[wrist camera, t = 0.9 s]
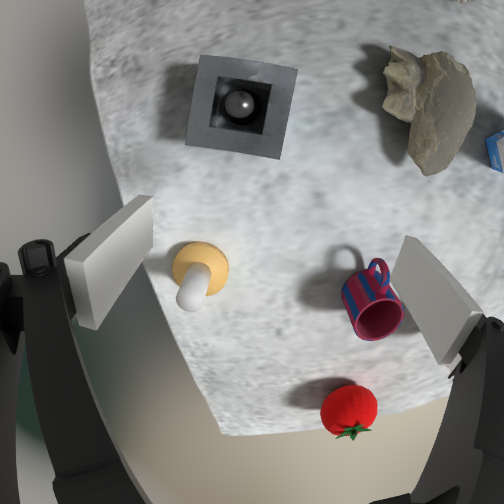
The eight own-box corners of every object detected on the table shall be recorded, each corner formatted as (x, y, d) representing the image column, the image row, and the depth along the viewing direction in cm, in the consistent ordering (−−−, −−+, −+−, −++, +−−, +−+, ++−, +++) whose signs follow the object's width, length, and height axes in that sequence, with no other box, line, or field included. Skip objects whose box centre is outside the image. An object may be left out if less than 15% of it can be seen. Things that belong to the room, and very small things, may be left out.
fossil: (420, 76, 28) (370, 43, 24) (486, 73, 19) (445, 27, 15) (413, 175, 32) (361, 159, 28) (482, 190, 23) (444, 171, 19)
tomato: (374, 394, 49) (386, 435, 40) (325, 412, 51) (332, 452, 42) (366, 366, 45) (380, 411, 36) (310, 386, 47) (316, 432, 38)
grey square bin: (209, 64, 26) (200, 54, 22) (291, 76, 27) (297, 69, 22) (195, 140, 30) (185, 144, 26) (276, 153, 31) (279, 159, 26)
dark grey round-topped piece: (227, 87, 28) (220, 79, 22) (264, 93, 28) (266, 86, 22) (221, 122, 29) (212, 122, 24) (258, 127, 30) (257, 129, 24)
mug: (336, 309, 40) (347, 341, 34) (352, 244, 35) (369, 271, 29) (378, 309, 40) (393, 340, 34) (397, 248, 35) (419, 274, 29)
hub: (176, 237, 35) (158, 266, 29) (232, 247, 36) (226, 278, 29) (173, 284, 38) (158, 319, 32) (224, 294, 39) (218, 330, 32)
